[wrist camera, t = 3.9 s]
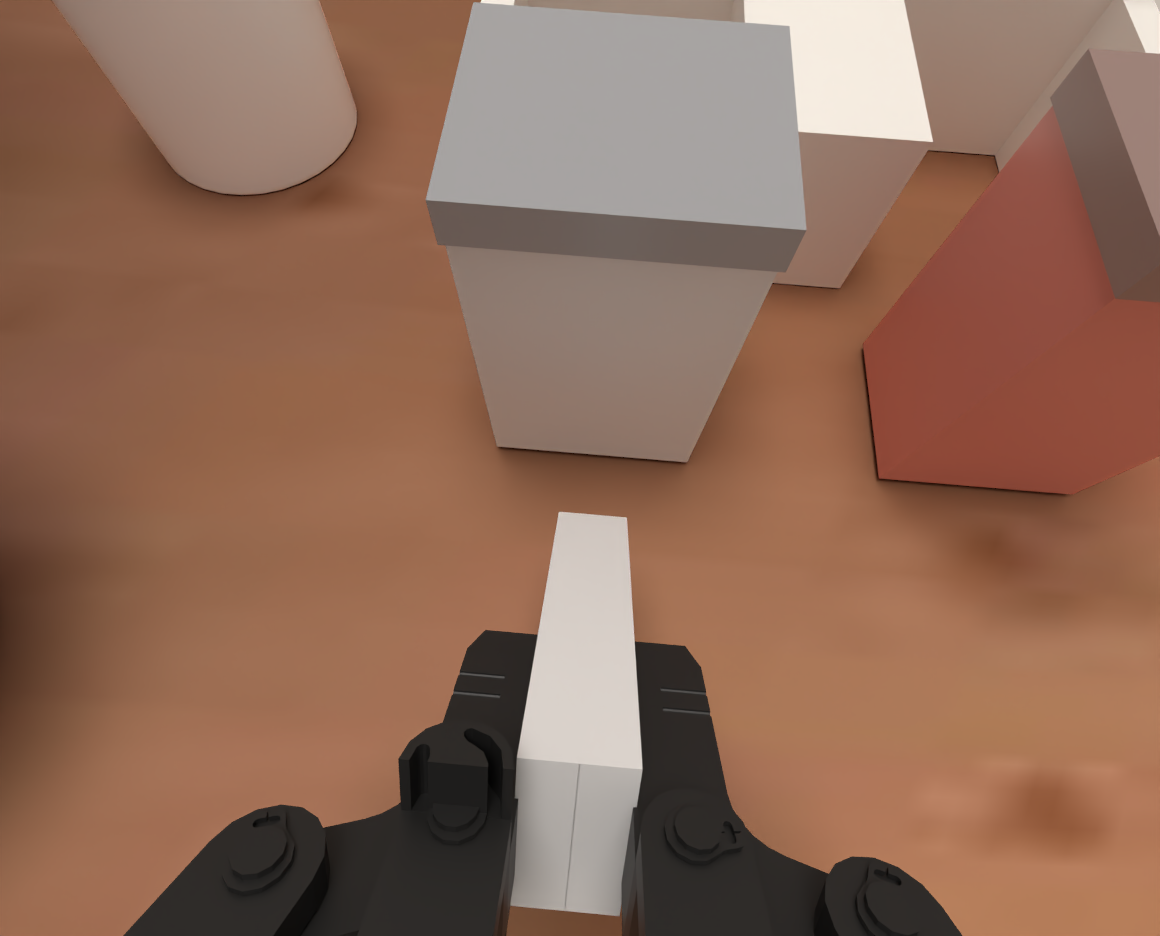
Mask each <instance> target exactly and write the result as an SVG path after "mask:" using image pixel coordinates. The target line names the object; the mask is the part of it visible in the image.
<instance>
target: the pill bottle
mask: <svg viewBox="0 0 1160 936" xmlns="http://www.w3.org/2000/svg"><path fill="white" fill-rule="evenodd" d="M51 1H52V2H53V4H54V5H55V7H56V8H57V9H58V11H59V12H60V13H61V15H62V16H63V18H64V19H65V20H66V22H67V23H68V25H69V26H70V27H71V29H72V30H73V32H74V33H75V34H76V36H77V37H78V39H79V40H80V41H81V43H82V44H83V46H84V47H85V48H86V50H87V51H88V52H89V54H90V55H91V57H92V58H93V59H94V61H95V62H96V64H97V65H98V66H99V68H100V69H101V71H102V72H103V73H104V75H105V76H106V78H107V79H108V80H109V82H110V83H111V84H112V86H113V87H114V89H115V90H116V91H117V93H118V94H119V96H120V97H121V98H122V100H123V101H124V103H125V104H126V105H127V107H128V108H129V110H130V111H131V112H132V114H133V115H134V117H135V118H136V119H137V121H138V122H139V123H140V125H141V126H142V128H143V129H144V130H145V132H146V133H147V135H148V136H149V137H150V139H151V140H152V142H153V143H154V144H155V146H156V147H157V149H158V150H159V151H160V153H161V154H162V155H163V157H164V158H165V160H166V161H167V162H168V163H169V165H170V166H171V167H172V168H173V170H174V171H175V172H176V173H177V174H178V175H180V176H181V177H182V178H184V179H185V180H186V181H188V182H189V183H192V184H194V185H196V186H198V187H201V188H203V189H206V190H210V191H214V192H218V193H222V194H235V195H251V194H264V193H269V192H274V191H278V190H283V189H286V188H289V187H291V186H294V185H297V184H300V183H302V182H304V181H306V180H308V179H310V178H312V177H314V176H315V175H317V174H319V173H320V172H322V171H323V170H324V169H326V168H327V167H328V166H330V165H331V164H332V163H333V162H334V161H335V160H336V159H337V158H338V157H339V156H340V155H341V154H342V153H343V152H344V151H345V149H346V147H347V146H348V144H349V143H350V141H351V139H352V138H353V134H354V131H355V128H356V125H357V109H356V106H355V102H354V98H353V95H352V92H351V89H350V86H349V83H348V80H347V78H346V75H345V72H344V69H343V66H342V63H341V60H340V57H339V54H338V51H337V48H336V46H335V43H334V40H333V37H332V34H331V31H330V28H329V25H328V22H327V19H326V16H325V14H324V11H323V8H322V5H321V2H320V0H51Z"/></svg>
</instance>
